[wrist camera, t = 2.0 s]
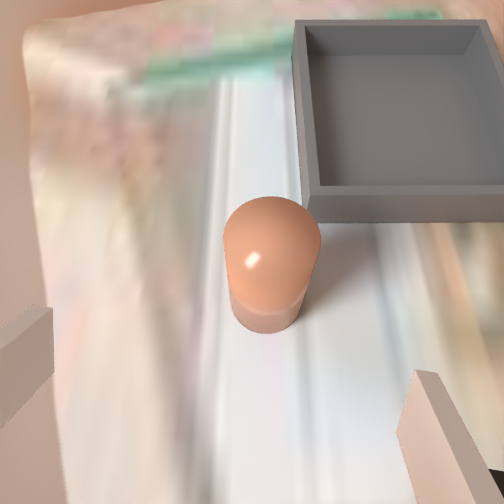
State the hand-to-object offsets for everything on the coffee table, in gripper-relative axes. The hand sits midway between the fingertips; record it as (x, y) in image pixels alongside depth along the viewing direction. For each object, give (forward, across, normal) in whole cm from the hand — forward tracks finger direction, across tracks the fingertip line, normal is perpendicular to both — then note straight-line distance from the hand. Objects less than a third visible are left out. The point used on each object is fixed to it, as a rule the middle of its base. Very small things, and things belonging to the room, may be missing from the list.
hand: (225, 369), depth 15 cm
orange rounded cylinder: (+23, +1, -8) cm, 24 cm away
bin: (+38, +12, +8) cm, 41 cm away
